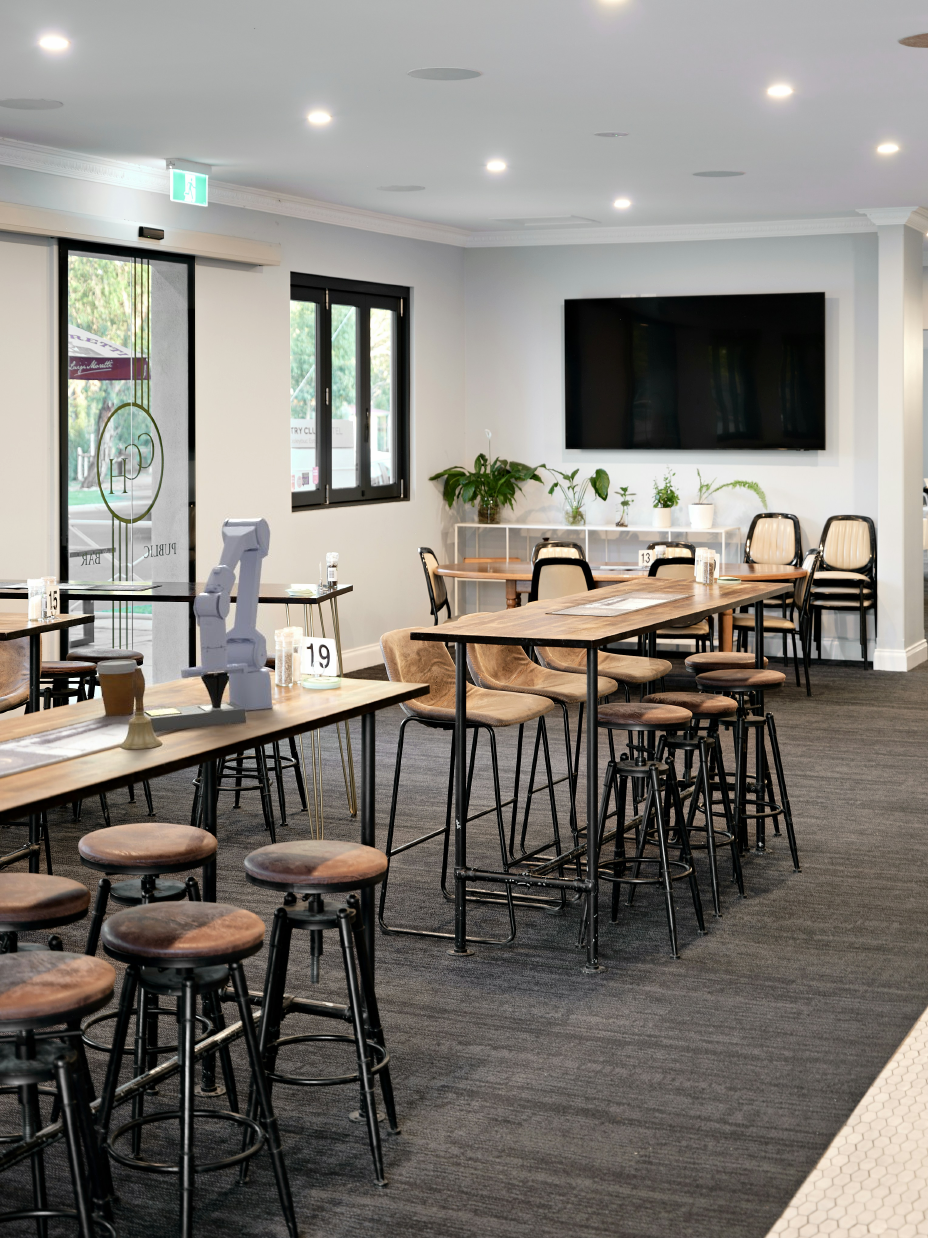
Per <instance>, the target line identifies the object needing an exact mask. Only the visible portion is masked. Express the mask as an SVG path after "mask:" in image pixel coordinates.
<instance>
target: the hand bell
mask: <svg viewBox="0 0 928 1238" xmlns="http://www.w3.org/2000/svg"><path fill="white" fill-rule="evenodd" d="M132 688H133V693H134V696H135V699H134V710H135V711H136V712H135V713H134V717H133V718H130V719H129V721H128V729H127V735H126V737H125V739H124V740H123V741H122V743H121V744H120V748H121V749H124V750H143V749H153V748H157V747H161V746H162V745H163V742H162V741H161V740H160V739H159V738H158V736H157V735H156V733H155V732H154V731H153V727H152V723H151V719H150V718H147V717H145V716H144V710H145V709H144V695H145V691H146V679H145V676H144V673H143V670H142V667H138V668H135V671H134V675H133V679H132Z"/></svg>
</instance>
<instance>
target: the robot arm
mask: <svg viewBox="0 0 928 1238" xmlns="http://www.w3.org/2000/svg"><path fill="white" fill-rule="evenodd" d="M221 536H222V542H223V548H222V551H221V556H220V558H219V562H218V566H214V567H213V568H211V571H210V572H209V576H208V578H207V581H206V584H205V586H204V588H203V592H201V593H199V594H198V595H196V596H195V598H194V603H193V612H194V615H195V618H196V625H197V627H199V643H200V645H199V646H200V663H201V665H200V666H194V667H186V668H180V671H181V672H180V673H181V674H180V675H181V678H182V679H190V678H197V677H198V678H199V677H200V678H201V681H202V683H203V684H204V686H205V689H206V690H207V693H208V697H209V700H210V701H211V703H210V704H212V707H213V708H221V703H222V701H223V695H224V692H225V690H226V687H227V685H228V695H229V696H228V699H229V701H228V702H233V703H235V704H237V705H239V706H241V707H243V708H245V709H246V711H255V710H256V711H257V710H265V709H272V708H274V705H273V699H272V695H273V694H272V680H271V679H272V678H271V674H270V671H269V669H266V668H264V666H265V665H266V662H267V657H268V651H267V639H266V638H265V636H264V635H263V634H262V633H261V632H260V631H258V630H257V629H256V627H257V626H256V625H257V618H258V615H257V614H258V605H259V597H260V586H261V585H260V584H261V578H262V577H261V575H262V574H261V573H262V566H263V565H262V564H263V559H264V558H266V557H268V555H269V549H270V542H271V541H270V540H271V530H270V525H269V524H268V521H267V520H266V519H265V518H264V517H261V518H239V519H238V518H233V519H232V518H226V519H225V520H224V522H223V524H222V527H221ZM239 562H240V563H239ZM238 563H239V564H240V565H239V573H238V574H239V575H238V586H237V593H236V604H235V612H234V613H235V614H234V623H233V627H232V628H231V629H230V630H229V631H227V627H226V626H227V625H226V624H227V622H226V619H227V617H228V615H229V613H230V610H231V608H230V607H231V599H232V597H231V596H230V595H231V593H232V591H233V587H234V585H235V582H236V579H237V577H236V574H235V572H234V571H235V569H236V568H237V565H238Z"/></svg>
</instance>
